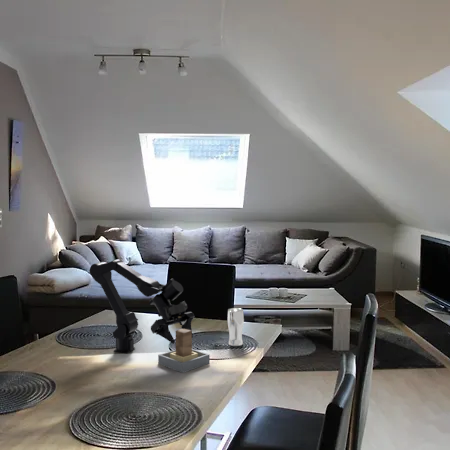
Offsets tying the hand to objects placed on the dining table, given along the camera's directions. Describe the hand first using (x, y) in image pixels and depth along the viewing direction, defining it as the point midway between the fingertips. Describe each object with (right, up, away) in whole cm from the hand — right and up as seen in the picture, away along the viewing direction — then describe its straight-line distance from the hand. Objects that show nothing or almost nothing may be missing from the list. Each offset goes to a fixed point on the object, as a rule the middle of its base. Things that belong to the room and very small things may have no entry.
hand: (183, 340), depth 210 cm
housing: (0, -9, +1) cm, 9 cm away
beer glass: (+21, -7, +25) cm, 33 cm away
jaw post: (0, -8, +1) cm, 8 cm away
